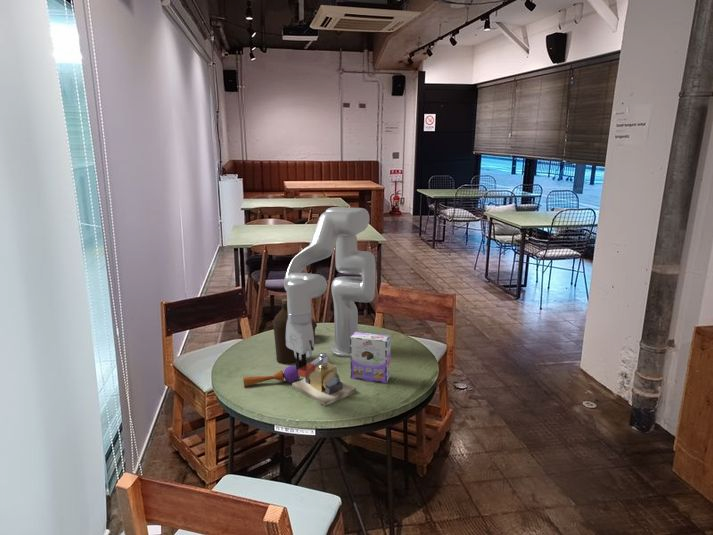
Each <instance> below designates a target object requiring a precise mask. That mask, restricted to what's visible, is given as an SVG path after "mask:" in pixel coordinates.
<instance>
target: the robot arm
mask: <svg viewBox="0 0 713 535" xmlns="http://www.w3.org/2000/svg"><path fill="white" fill-rule="evenodd" d="M369 225H370V214H369V212H368V210H367V209H366V208H363V207H347V206H333V207H329V208H327V209H326V210H325V211H324V212H323V213H321V214H320V215H319V218H318V221H317V223H316V226H315V230H314V232H313V234H312V237H311V240H310V243H309V245H308V246H306V247H305V248H303V249H301V251H299V252H298V253H297V254H296V255H295V256H294V257H293V258H292V259H291V261H290V263H289V264H288V267H287V269H286V273H285V276H284V278H283V279H284V280H283V287H284V290H285V292H286V298H287V308H288V320H287V324H286V346H287V347H288V348H289V349H291V350H293V351H294V356H295V358H297V359H296V363H295V366H296V369H297V370H298V369H299V368H301V367H302V366H304V365H305V364H307V363H308V361H307V359H308V358H310V357H313V351H314V350H315V336H314V335H313V327H312V323H311V318H312V305H311V304H312V300H313V299H316V298H319V297H321V296H322V295H323V294H325V292H326V290H327V287H328V282H327V279H326V277H325V276H324V275H322V274H317V273H307V272H302V271H303V270H304V269H305V268H306V267H308V266H309V265H311V264H313V263H316V262H320V261H322V260H324V259H325V260H326V259H327V258H329V257H331V256H332V255H333V253H334V250H335V269H336V271H337V272H338V273H341V274H345V275H357V276H360V277H355V276H337V277H335V278H334V279H333V280H332V282H331V287H330V288H331V295H332V296H331V297H332V300H333V301H332V302H333V309H334V310H333V312H334V315H333V316H334V318H333V319H334V321H333V322H334V344H333V345H332V346H331V348H330V350H331V351H330V352H331V353H332V354H333V355H335V356H337V357H341V358H342V357H348V358H349V357H350V337H351V336H352V335H353V334H354V332H359V324H358V321H359V320H358V316H359V312H358V308H357V305H356V304H355V303H357V302H358V303H365V304H366V303H371V302H373V300H374V298H375V293H376V266H377V265H376V258H375V255H374V254H373V253H372V252H370V251H367V250H358V237H357V235H359V234H360V233H362V232H364V231H366V229H367V228H368V227H369Z"/></svg>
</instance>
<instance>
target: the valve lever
mask: <svg viewBox="0 0 713 535" xmlns="http://www.w3.org/2000/svg"><path fill="white" fill-rule="evenodd" d="M328 357H329V356H328V355H327V353H326V352H321V353H319V355H318V357H316V359H314V360H313V361H311V362H307V364H305V365H304V366H302V367H301V368H299V369H298V376H300V377H302V378H305V377H307V376H308V375H310V374H311V373H312V372H314V371H315V368H317V367H318V366H319V367H320V368H326V367H328V363H329V358H328Z"/></svg>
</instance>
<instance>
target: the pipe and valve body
mask: <svg viewBox="0 0 713 535" xmlns="http://www.w3.org/2000/svg"><path fill="white" fill-rule="evenodd" d="M337 369H338V368H337V366H336V365H334V364H331V363H330V362H328V367H326V368H320V367H319V366H318V367H317V368H315V371H314V372H312V373H311V374H310V375H308V376H307V377H304V378H305V382H306V383H308V384H310V385H311V387H313V388H315V389H317V390H319V391H321V392H323V391H325V392H326V394H328V395H331V394H333V393H335V392H338V391H340V390H342V389H343V383H342V382H340V380H341V379H340V376H339V374H338V370H337Z"/></svg>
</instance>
